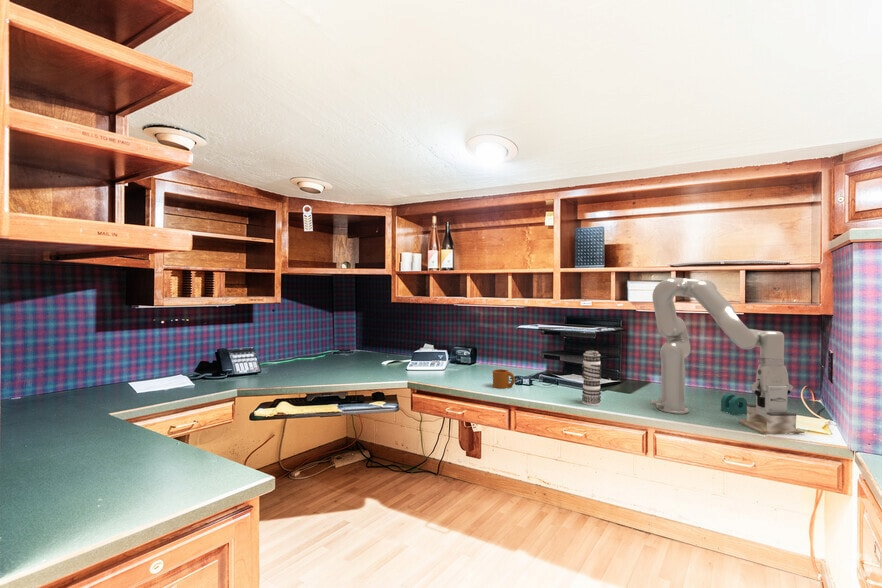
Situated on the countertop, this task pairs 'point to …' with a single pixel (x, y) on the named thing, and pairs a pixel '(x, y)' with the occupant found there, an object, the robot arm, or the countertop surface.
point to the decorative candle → (591, 378)
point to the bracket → (733, 404)
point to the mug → (502, 379)
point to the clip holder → (771, 422)
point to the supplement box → (773, 400)
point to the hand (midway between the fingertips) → (771, 406)
